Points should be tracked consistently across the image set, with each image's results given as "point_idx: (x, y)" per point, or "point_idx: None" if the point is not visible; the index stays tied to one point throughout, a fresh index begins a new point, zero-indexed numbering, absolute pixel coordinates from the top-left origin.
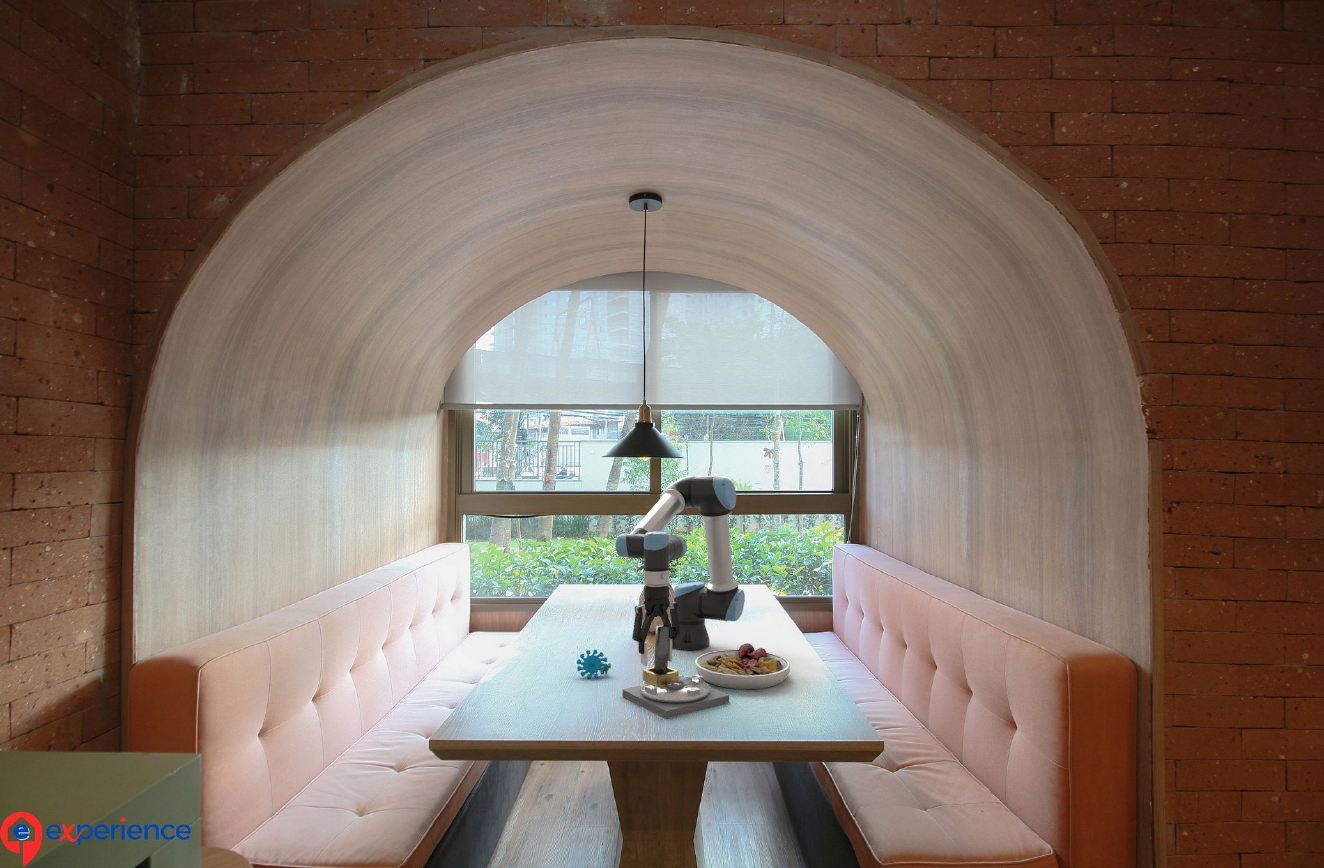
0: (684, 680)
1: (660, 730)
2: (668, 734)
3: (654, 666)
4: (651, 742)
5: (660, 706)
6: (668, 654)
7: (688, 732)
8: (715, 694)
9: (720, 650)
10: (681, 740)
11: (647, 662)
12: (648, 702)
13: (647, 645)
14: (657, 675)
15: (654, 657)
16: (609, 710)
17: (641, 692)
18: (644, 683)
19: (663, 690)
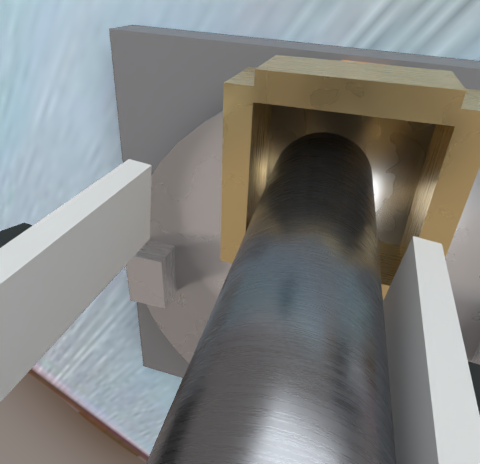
0: (464, 277)
1: (98, 371)
2: (104, 396)
3: (254, 212)
4: (48, 387)
5: (149, 331)
6: (391, 332)
7: (153, 424)
8: None
9: None
10: (113, 428)
11: (136, 252)
12: None
13: (24, 374)
14: (228, 260)
15: (243, 242)
16: (13, 147)
17: None
18: (215, 131)
19: None
